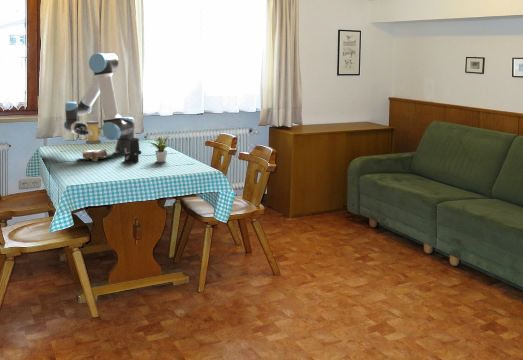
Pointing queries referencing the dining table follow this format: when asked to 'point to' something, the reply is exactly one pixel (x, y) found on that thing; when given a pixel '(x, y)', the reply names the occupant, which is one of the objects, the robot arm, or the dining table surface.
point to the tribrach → (94, 154)
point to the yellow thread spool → (93, 132)
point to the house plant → (160, 149)
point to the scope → (133, 151)
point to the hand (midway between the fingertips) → (97, 132)
